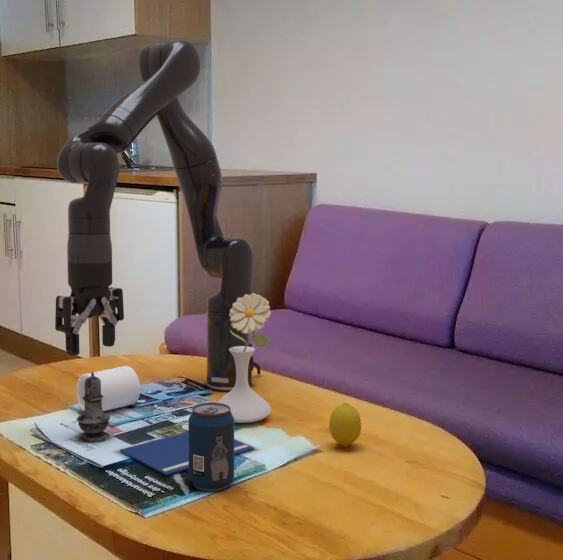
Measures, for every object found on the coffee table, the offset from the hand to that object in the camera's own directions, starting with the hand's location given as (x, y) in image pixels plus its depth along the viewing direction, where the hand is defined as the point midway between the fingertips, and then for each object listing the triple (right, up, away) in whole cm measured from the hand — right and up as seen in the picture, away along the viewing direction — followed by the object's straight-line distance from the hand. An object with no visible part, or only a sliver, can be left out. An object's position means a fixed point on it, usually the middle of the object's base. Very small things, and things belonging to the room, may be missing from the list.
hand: (91, 350), depth 136 cm
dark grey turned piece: (0, -16, +2) cm, 16 cm away
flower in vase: (+26, -15, +13) cm, 33 cm away
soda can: (+23, -19, -17) cm, 34 cm away
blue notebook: (+17, -17, -4) cm, 25 cm away
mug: (-2, -13, +20) cm, 24 cm away
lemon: (+45, -17, -1) cm, 48 cm away
